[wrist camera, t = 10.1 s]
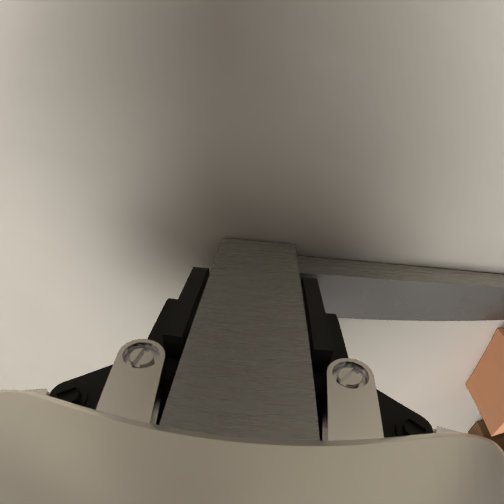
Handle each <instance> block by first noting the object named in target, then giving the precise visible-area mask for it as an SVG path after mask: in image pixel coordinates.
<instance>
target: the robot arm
mask: <svg viewBox="0 0 504 504" xmlns="http://www.w3.org/2000/svg"><path fill="white" fill-rule="evenodd" d="M209 275H210V272H209V269H208V268H199V267H193V269H192V271H191V273H190V275H189V277H188V279H187V282H186V284H185V286H184V288H183V290H182V292H181V294H180V296H179V299H170V298H169V299H168V300H167V301H166V303H165V305H164V307H163V309H162V311H161V313H160V315H159V317H158V319H157V321H156V323H155V325H154V327H153V329H152V331H151V333H150V335H149V337H148V339H137V340H132V341H130V342H128V343H126V344H125V345H123V346H122V347H121V349H120V350H119V352H118V354H117V356H116V359H115V361H114V364H113V365H110V366H107V367H105V368H102V369H99V370H97V371H94V372H91V373H88V374H86V375H83V376H80V377H77V378H74V379H71V380H69V381H66V382H63V383H61V384H59V385H57V386H56V387H55V388H54V389H53V390H52V391H51V392H48V391H47V389H36V390H0V504H504V451H503V450H502V449H501V447H500V446H499V445H498V444H497V443H495V442H494V441H492V440H490V439H488V438H485V437H482V436H478V435H471V434H466V433H461V432H457V431H453V430H450V429H446V428H442V427H439V426H437V428H436V429H432V426H431V425H430V423H429V422H428V421H427V420H426V419H425V418H423V417H422V416H420V415H419V414H417V413H415V412H413V411H412V410H410V409H408V408H407V407H405V406H403V405H402V404H400V403H398V402H397V401H395V400H393V399H392V398H390V397H388V396H387V395H385V394H384V393H382V392H380V391H379V390H377V389H376V385H375V380H374V375H373V373H372V370H371V369H370V368H369V367H368V366H367V365H366V364H364V363H363V362H361V361H358V360H356V359H351V358H348V355H347V351H346V347H345V343H344V340H343V336H342V332H341V329H340V325H339V321H338V318H337V315H336V314H331V313H326V312H325V308H324V304H323V300H322V296H321V292H320V288H319V284H318V280H317V278H308V277H302V278H301V288H302V295H303V302H304V309H305V316H306V324H307V331H308V339H309V346H310V354H311V362H312V371H313V379H314V388H315V397H316V406H317V416H318V426H319V436H320V441H298V440H272V439H257V438H244V437H234V436H225V435H217V434H209V433H202V432H195V431H189V430H183V429H177V428H171V427H166V426H161V425H159V424H160V421H161V418H162V414H163V411H164V408H165V405H166V402H167V399H168V396H169V393H170V389H171V386H172V383H173V380H174V377H175V374H176V371H177V368H178V365H179V362H180V359H181V356H182V353H183V350H184V347H185V344H186V341H187V338H188V335H189V332H190V329H191V326H192V324H193V321H194V318H195V315H196V312H197V309H198V306H199V303H200V301H201V298H202V295H203V292H204V289H205V286H206V284H207V281H208V278H209Z"/></svg>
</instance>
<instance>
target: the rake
mask: <svg viewBox="0 0 504 504" xmlns="http://www.w3.org/2000/svg"><path fill="white" fill-rule="evenodd" d="M302 277H308V278H317V280H318V284H319V288H320V292H321V296H322V300H323V304H324V308H325V312H326V313H331V314H336V315H337V318H355V319H379V320H418V321H476V320H504V275H503V274H493V273H482V272H471V271H460V270H449V269H438V268H427V267H417V266H406V265H395V264H384V263H373V262H362V261H351V260H340V259H329V258H318V257H307V256H297V255H296V249H295V244H285V243H274V242H263V241H252V240H241V239H230V238H223V239H222V242H221V245H220V248H219V250H218V253H217V256H216V259H215V261H214V264H213V267H212V270H211V272H210V275H209V278H208V281H207V284H206V286H205V289H204V292H203V295H202V298H201V301H200V303H199V306H198V309H197V312H196V315H195V318H194V321H193V324H192V326H191V329H190V332H189V335H188V338H187V341H186V344H185V347H184V350H183V353H182V356H181V359H180V362H179V365H178V368H177V371H176V374H175V377H174V380H173V383H172V386H171V389H170V393H169V396H168V399H167V402H166V405H165V408H164V411H163V414H162V418H161V421H160V424H159V425H161V426H166V427H171V428H177V429H183V430H189V431H195V432H202V433H209V434H217V435H225V436H234V437H244V438H257V439H272V440H298V441H320V436H319V426H318V416H317V406H316V397H315V388H314V379H313V371H312V362H311V354H310V346H309V339H308V331H307V324H306V316H305V309H304V302H303V295H302V288H301V278H302Z"/></svg>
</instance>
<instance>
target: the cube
mask: <svg viewBox="0 0 504 504" xmlns="http://www.w3.org/2000/svg"><path fill="white" fill-rule="evenodd" d="M466 386H467V388H468V390H469V392H470V394H471V396H472V398H473V400H474V401H475V403H476V405H477V407H478V409H479V411H480V413H481V415H482V418H483V420H484V422H485V424H486V426H487V428H488V430H489V432H490V434H491V437H492V436H495V435H498V434H501V433H504V328H497V330H496V332H495V334H494V336H493V338H492V340H491V342H490V343H489V345H488V347H487V349H486V351H485V353H484V354H483V356H482V358H481V360H480V362H479V363H478V365H477V367H476V368H475V370H474V372H473V373H472V375H471V377H470V378H469V380H468V381H467V383H466Z"/></svg>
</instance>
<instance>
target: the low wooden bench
mask: <svg viewBox="0 0 504 504" xmlns="http://www.w3.org/2000/svg"><path fill="white" fill-rule="evenodd" d="M468 433H469V434H471V435H478V436H482V437H485V438H488V439H490V440H492V441H494V442H495V443H497V444H498V445H499V446H500V447H501V449H502V450H503V451H504V433H501V434H498V435H495V436H492V437H491V434H490V432H489V430H488V428H487V426H486V424H485V422H484V420H482V421H478V422H476V423H475V425H474V426H473V427H472V428H471V429H470V431H469V432H468Z"/></svg>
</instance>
